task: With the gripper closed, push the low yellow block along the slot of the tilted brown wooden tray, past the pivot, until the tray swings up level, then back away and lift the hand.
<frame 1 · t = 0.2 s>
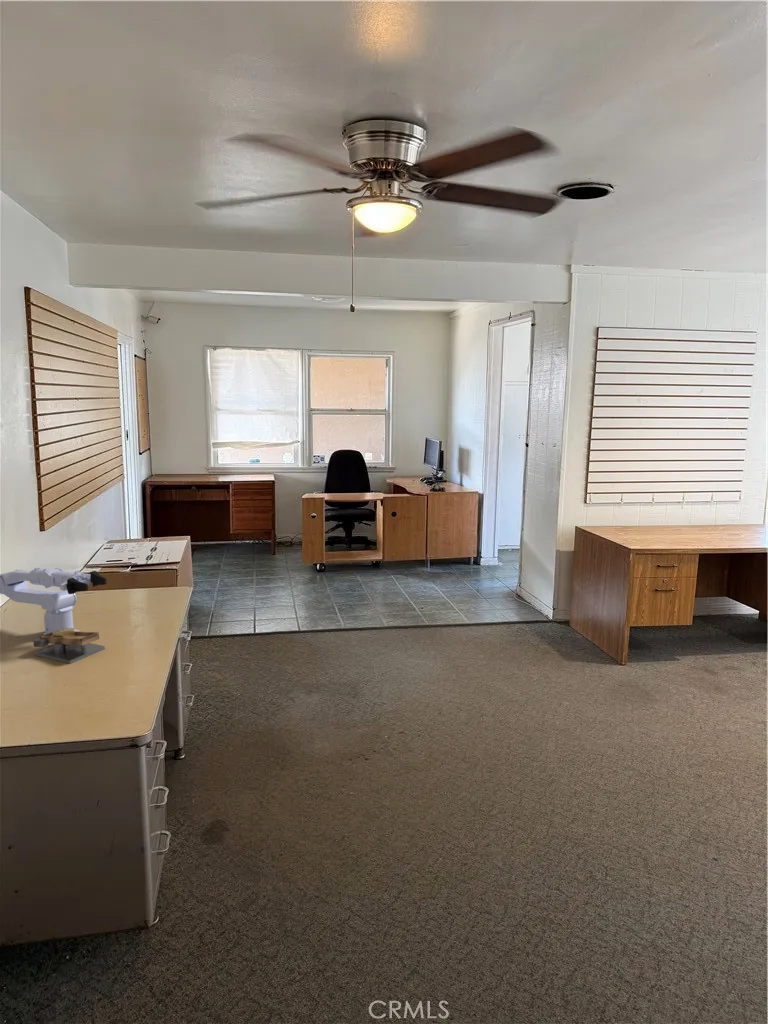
hand: (96, 584, 225), 21 cm above the table, fingers open, 7 cm apart
yellow block: (64, 637, 219), point 5 cm above the table, tilted 7°, touching brown wooden tray
brown wooden tray: (69, 638, 218), point 5 cm above the table, hinge at -6.6°, touching yellow block
pivot stand: (70, 652, 219), on the table
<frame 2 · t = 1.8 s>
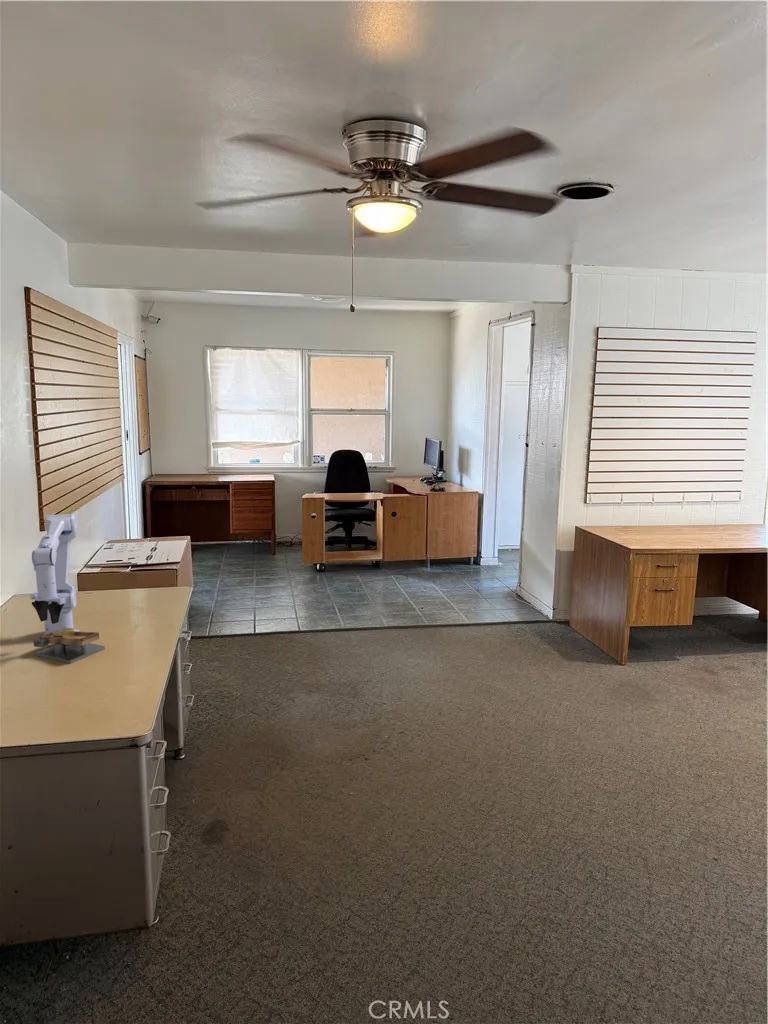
hand: (49, 621, 221), 9 cm above the table, fingers open, 5 cm apart
nothing on the table moved.
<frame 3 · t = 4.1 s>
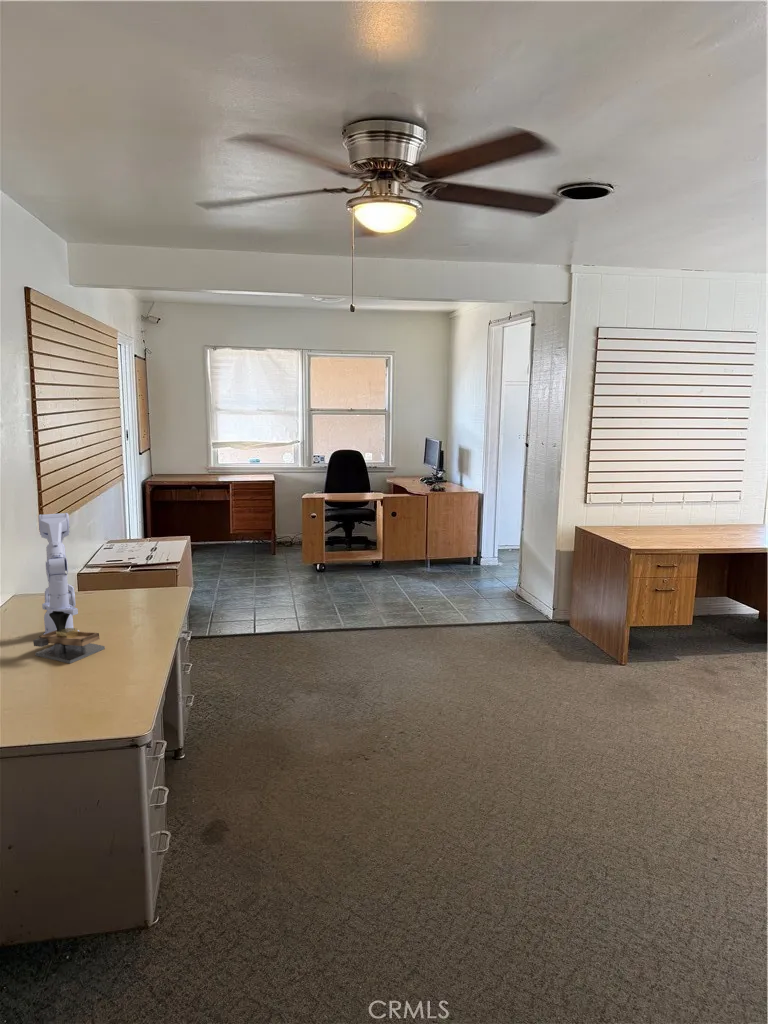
hand: (61, 632, 219), 6 cm above the table, fingers closed, pressing on yellow block
yellow block: (67, 637, 218), point 5 cm above the table, tilted 6°, touching brown wooden tray, gripper
brown wooden tray: (69, 638, 218), point 5 cm above the table, hinge at -5.5°, touching yellow block
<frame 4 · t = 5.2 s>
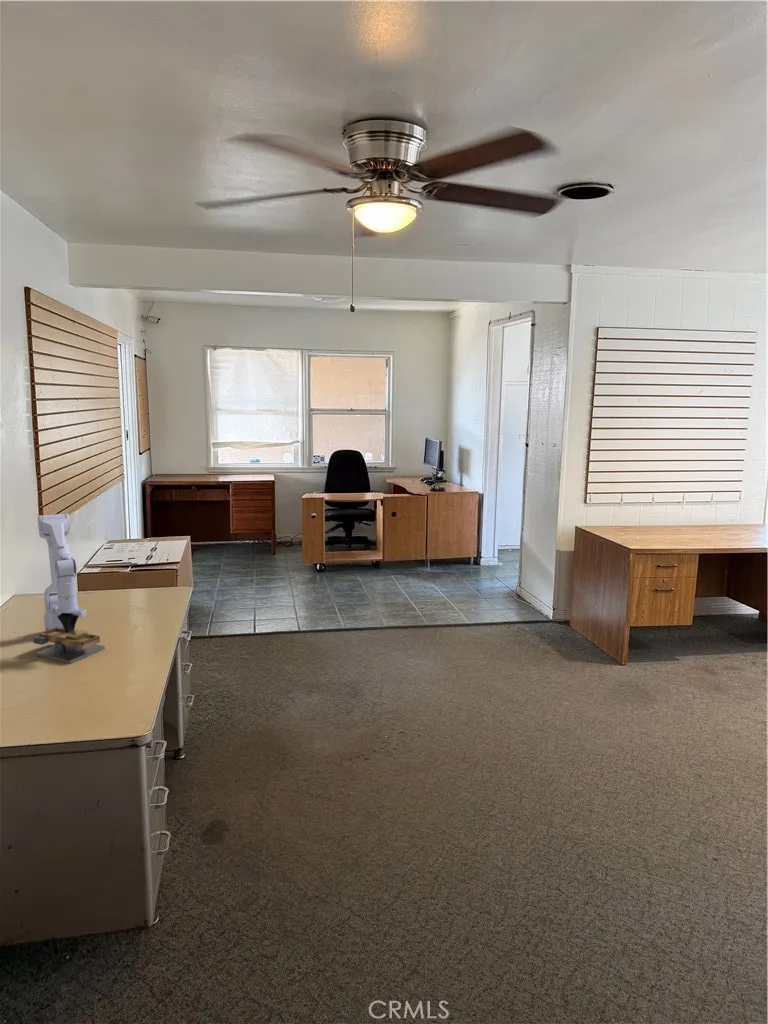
hand: (70, 634, 218), 6 cm above the table, fingers closed
yellow block: (77, 639, 216), point 5 cm above the table, touching brown wooden tray, gripper
brown wooden tray: (69, 638, 218), point 5 cm above the table, hinge at 0.4°, touching yellow block
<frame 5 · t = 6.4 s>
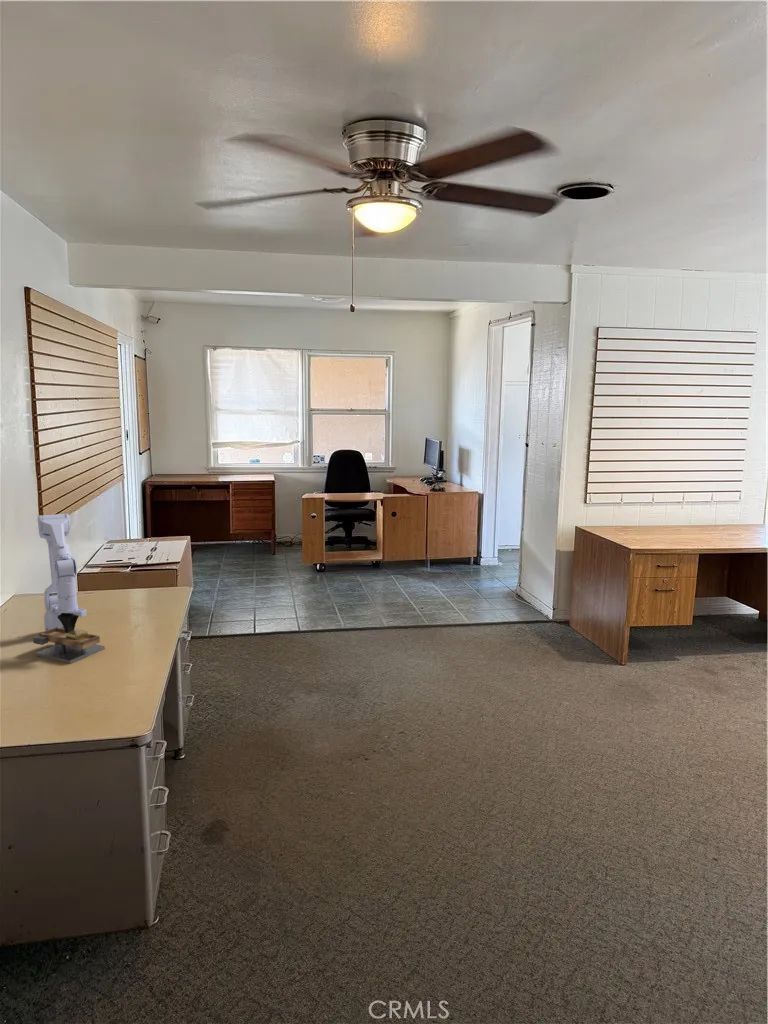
hand: (70, 634, 218), 6 cm above the table, fingers closed
nothing on the table moved.
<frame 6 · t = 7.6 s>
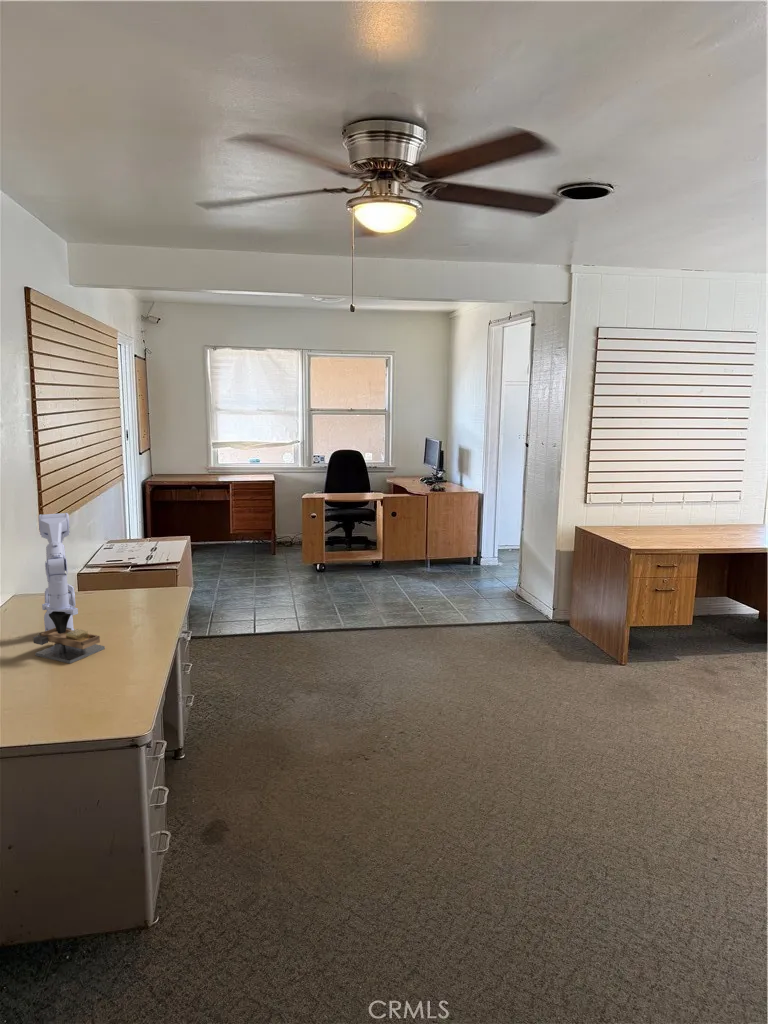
hand: (61, 632, 219), 6 cm above the table, fingers closed
yellow block: (77, 639, 216), point 5 cm above the table, touching brown wooden tray
everything else where it was.
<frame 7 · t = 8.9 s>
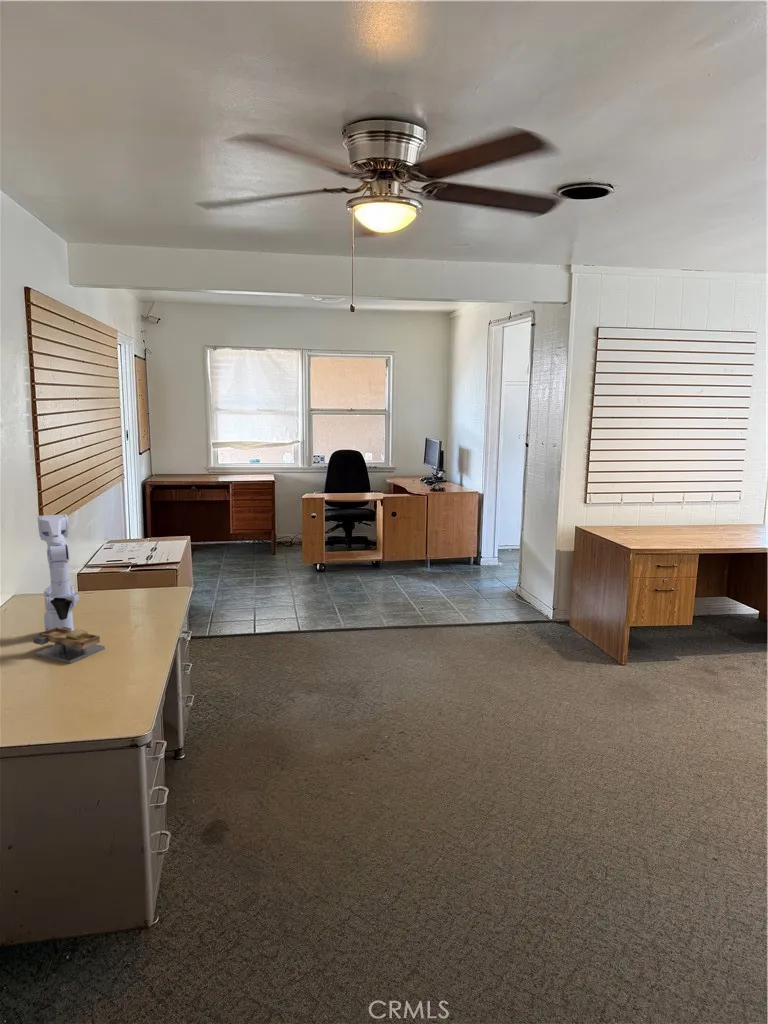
hand: (63, 618, 222), 10 cm above the table, fingers closed
nothing on the table moved.
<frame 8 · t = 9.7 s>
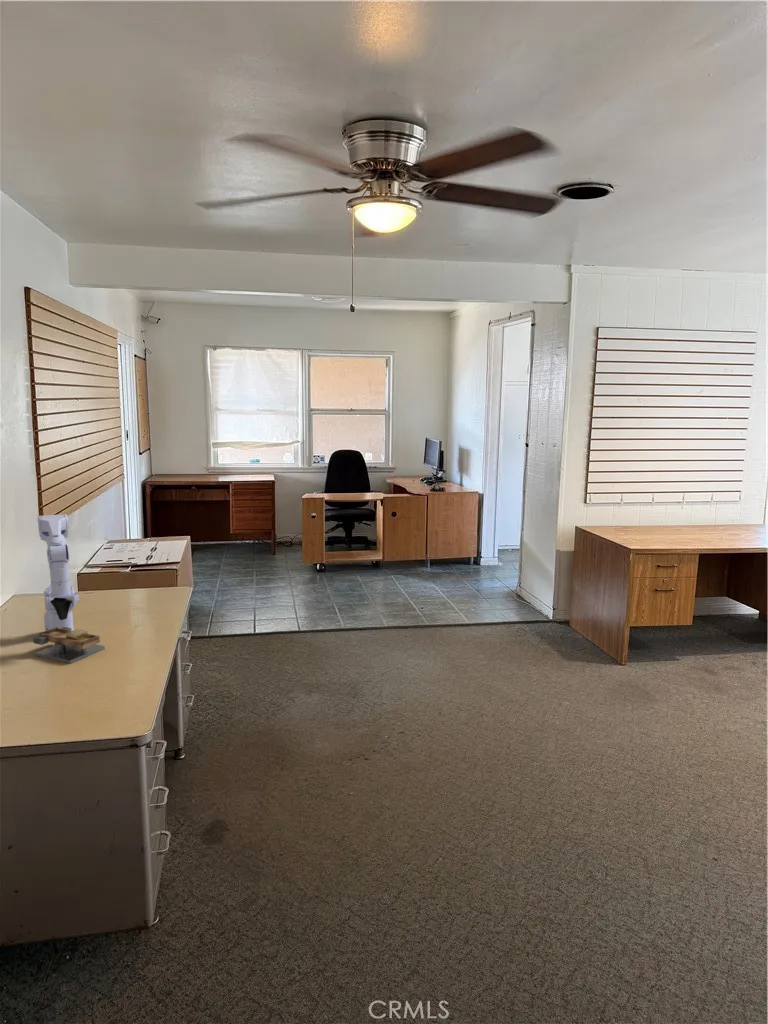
hand: (63, 618, 222), 10 cm above the table, fingers closed
nothing on the table moved.
at the end: brown wooden tray at +0° (first picture: -7°); yellow block 1.8 cm from the target spot on the brown wooden tray, point 1.2 cm above the brown wooden tray's base; yellow block tilted 0° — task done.
